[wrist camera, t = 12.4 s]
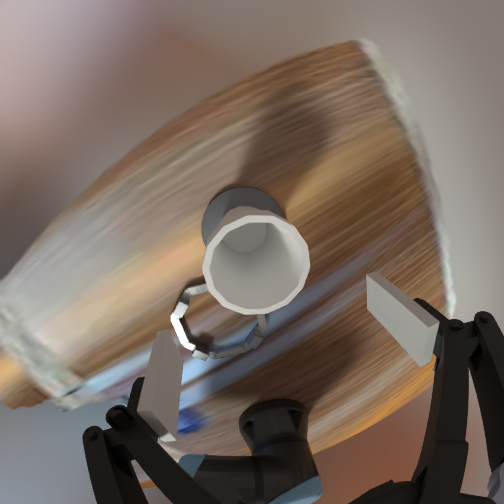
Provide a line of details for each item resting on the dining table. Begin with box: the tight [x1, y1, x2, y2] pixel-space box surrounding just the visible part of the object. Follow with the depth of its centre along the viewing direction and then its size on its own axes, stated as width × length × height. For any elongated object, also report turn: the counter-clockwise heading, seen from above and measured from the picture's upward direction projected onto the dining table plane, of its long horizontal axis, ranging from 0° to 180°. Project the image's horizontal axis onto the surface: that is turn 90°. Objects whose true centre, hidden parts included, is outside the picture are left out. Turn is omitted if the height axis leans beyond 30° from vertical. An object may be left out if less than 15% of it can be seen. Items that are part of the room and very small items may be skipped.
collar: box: [170, 281, 267, 361], centre depth 40 cm, size 14×14×2 cm
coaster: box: [202, 187, 284, 246], centre depth 36 cm, size 11×11×1 cm
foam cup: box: [202, 206, 310, 315], centre depth 29 cm, size 10×9×13 cm
